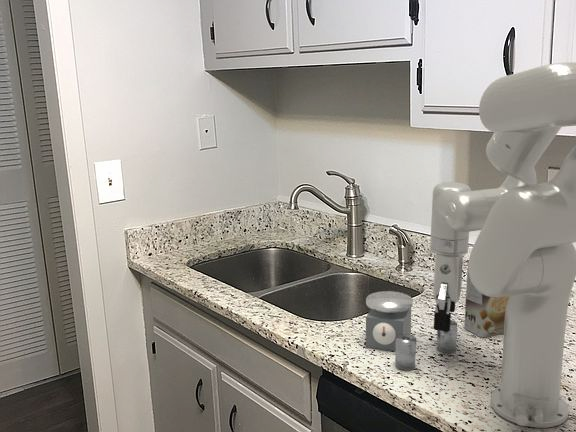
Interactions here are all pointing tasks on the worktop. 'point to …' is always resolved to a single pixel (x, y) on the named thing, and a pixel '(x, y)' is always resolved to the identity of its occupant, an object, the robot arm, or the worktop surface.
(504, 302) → the printed food package
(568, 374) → the worktop surface
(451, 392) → the worktop surface
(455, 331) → the cylinder
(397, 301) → the pan
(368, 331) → the scale
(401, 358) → the cylinder
